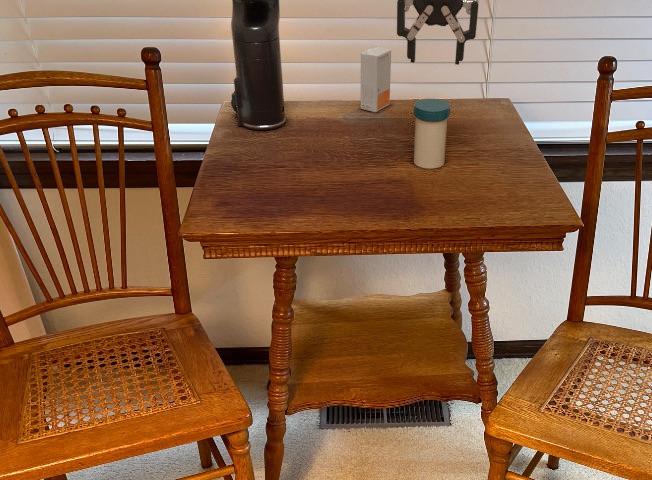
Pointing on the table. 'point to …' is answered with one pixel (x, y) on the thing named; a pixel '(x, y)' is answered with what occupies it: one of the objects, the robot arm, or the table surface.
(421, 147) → the white jar
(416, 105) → the jam lid
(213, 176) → the table surface
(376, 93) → the cosmetic box
